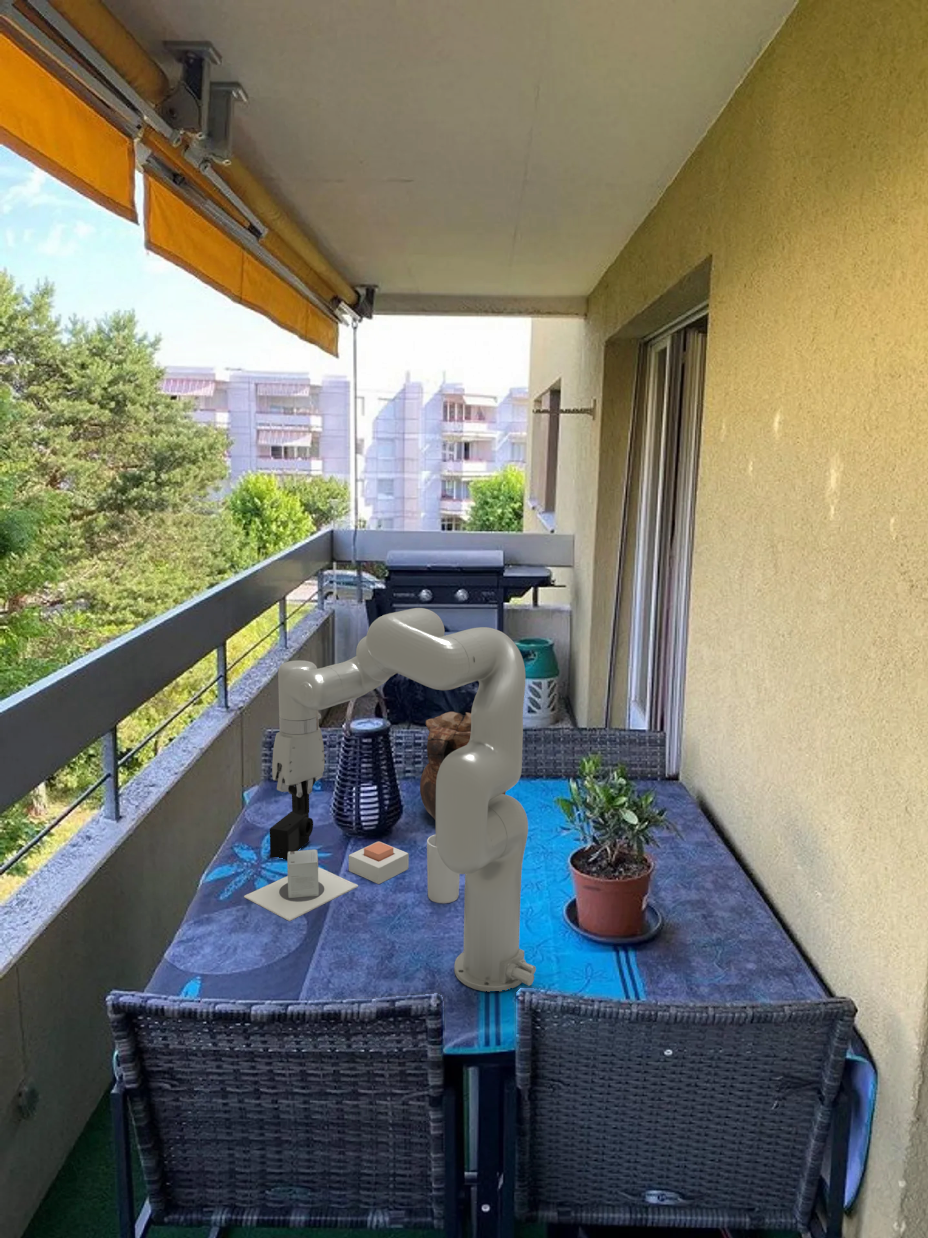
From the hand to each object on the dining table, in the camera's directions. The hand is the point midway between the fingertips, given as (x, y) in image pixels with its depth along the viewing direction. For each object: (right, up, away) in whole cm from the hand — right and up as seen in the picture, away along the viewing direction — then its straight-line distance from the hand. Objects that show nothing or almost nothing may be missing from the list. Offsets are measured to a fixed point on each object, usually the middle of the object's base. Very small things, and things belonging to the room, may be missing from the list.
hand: (300, 812), depth 175 cm
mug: (+29, -17, +4) cm, 34 cm away
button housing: (+14, -15, +13) cm, 25 cm away
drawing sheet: (0, -17, +3) cm, 17 cm away
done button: (+14, -13, +13) cm, 23 cm away
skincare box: (0, -17, +3) cm, 17 cm away
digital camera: (-6, -13, +22) cm, 26 cm away
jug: (+32, -10, +41) cm, 53 cm away
